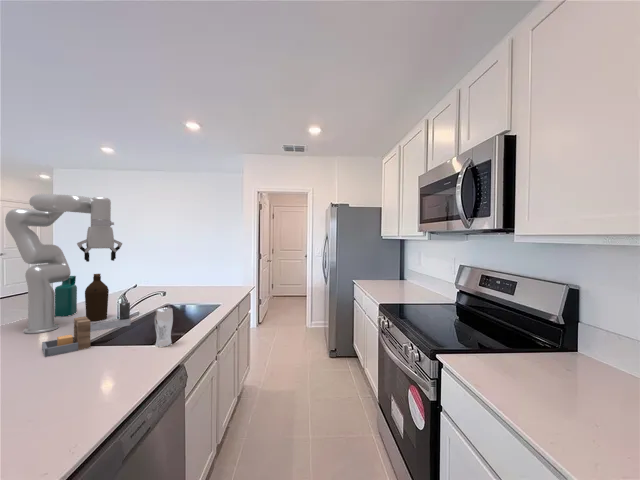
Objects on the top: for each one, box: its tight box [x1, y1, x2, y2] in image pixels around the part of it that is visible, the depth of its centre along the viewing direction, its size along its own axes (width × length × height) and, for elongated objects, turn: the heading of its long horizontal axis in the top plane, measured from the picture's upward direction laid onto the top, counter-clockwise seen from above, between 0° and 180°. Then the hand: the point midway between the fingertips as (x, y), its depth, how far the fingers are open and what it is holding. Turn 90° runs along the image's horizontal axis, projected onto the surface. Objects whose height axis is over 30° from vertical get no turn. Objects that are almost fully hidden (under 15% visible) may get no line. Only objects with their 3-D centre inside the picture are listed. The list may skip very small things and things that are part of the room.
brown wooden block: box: [73, 315, 92, 351], centre depth 128 cm, size 10×4×11 cm, turn 47°
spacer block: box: [56, 334, 74, 346], centre depth 124 cm, size 4×4×4 cm
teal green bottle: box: [54, 275, 78, 317], centre depth 178 cm, size 10×8×22 cm
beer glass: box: [154, 307, 174, 347], centre depth 131 cm, size 7×7×15 cm
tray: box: [41, 336, 79, 358], centre depth 123 cm, size 11×10×3 cm
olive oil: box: [84, 273, 110, 322], centre depth 169 cm, size 11×11×25 cm
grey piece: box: [90, 301, 132, 333], centre depth 134 cm, size 4×19×10 cm, turn 137°
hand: (100, 261), depth 143 cm, fingers open, 9 cm apart
